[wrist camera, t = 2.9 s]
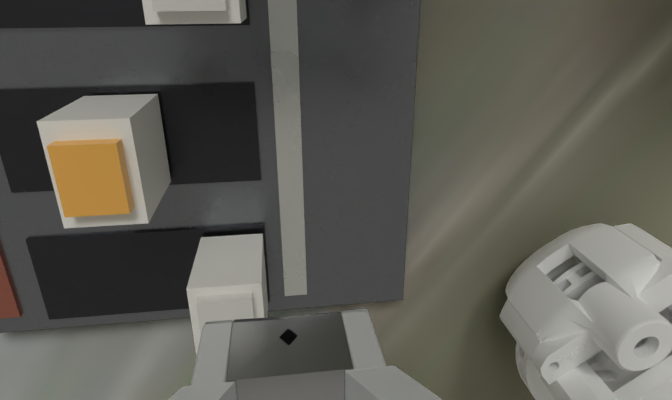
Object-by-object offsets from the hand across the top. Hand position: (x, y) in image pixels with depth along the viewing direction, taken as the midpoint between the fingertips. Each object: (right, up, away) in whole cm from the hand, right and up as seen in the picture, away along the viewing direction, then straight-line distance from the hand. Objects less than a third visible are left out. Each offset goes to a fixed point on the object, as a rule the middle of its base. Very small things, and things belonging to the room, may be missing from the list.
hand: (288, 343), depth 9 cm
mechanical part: (+15, -3, +21) cm, 26 cm away
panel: (-6, +6, +14) cm, 17 cm away
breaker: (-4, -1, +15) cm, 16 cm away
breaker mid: (-8, +5, +12) cm, 16 cm away
